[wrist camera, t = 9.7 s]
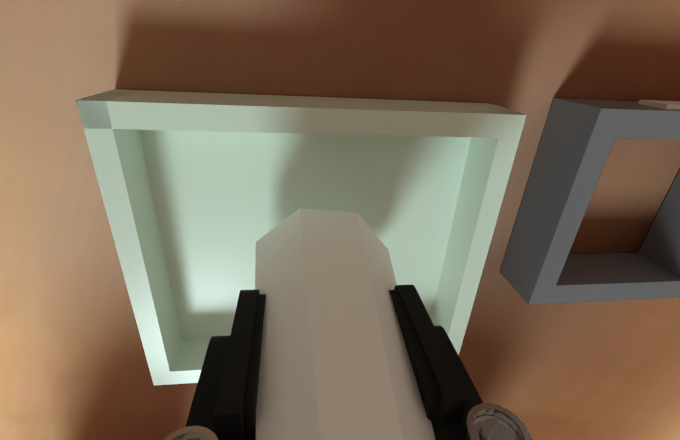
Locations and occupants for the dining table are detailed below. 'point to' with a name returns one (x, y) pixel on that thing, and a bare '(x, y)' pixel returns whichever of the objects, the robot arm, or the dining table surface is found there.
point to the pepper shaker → (332, 335)
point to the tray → (288, 197)
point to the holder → (573, 199)
